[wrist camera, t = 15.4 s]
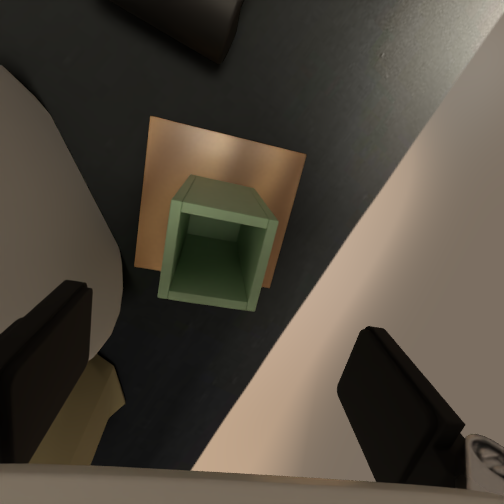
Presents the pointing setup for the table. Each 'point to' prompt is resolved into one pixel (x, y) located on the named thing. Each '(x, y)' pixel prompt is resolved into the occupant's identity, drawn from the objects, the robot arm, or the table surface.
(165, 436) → the table surface
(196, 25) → the end cap
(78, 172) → the alarm clock
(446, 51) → the table surface
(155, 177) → the cork mat
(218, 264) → the sage tub
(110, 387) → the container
